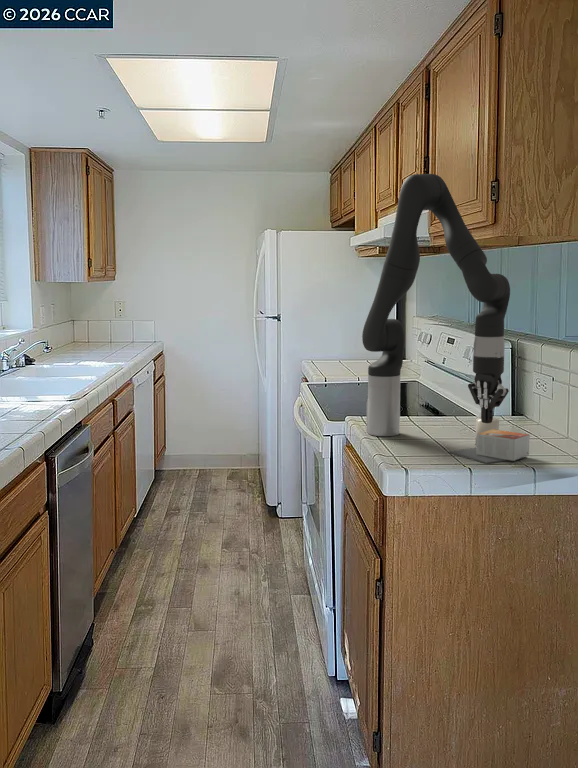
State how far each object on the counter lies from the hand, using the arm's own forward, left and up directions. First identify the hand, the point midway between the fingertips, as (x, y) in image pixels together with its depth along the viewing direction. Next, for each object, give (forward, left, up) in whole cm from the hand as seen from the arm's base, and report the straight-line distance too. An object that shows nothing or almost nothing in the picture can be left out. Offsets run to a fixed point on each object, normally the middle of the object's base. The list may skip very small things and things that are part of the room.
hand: (486, 422), depth 196 cm
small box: (-2, +1, -5) cm, 6 cm away
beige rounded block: (-10, +9, -9) cm, 16 cm away
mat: (0, 0, -8) cm, 8 cm away
